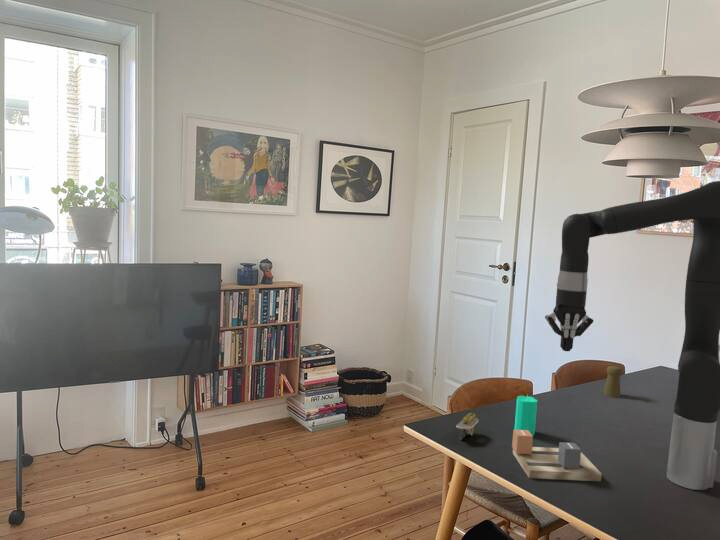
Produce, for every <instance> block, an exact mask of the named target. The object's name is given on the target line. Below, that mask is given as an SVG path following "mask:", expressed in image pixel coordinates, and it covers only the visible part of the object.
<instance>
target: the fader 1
mask: <svg viewBox="0 0 720 540" xmlns="http://www.w3.org/2000/svg"><path fill="white" fill-rule="evenodd" d="M533 439H534V435H533V436H532V434H531V433H530V432H529V431H528V430H514V429H513V430H512V443H511V448H512V450H513V449H514V451H515V452H516V454H532V447H533Z"/></svg>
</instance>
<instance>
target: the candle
mask: <svg viewBox="0 0 720 540" xmlns="http://www.w3.org/2000/svg"><path fill="white" fill-rule="evenodd" d="M526 394H527V395H526V396H525V395H518V396H517V397H516V404H515V406H516V407H515V415H514V417H515V418H514V419H515V420H514V429H513V430H528V431H529V432H530V433H531V434H532V436H533V437H534V435H535V434H536V425H537V424H536V423H537V412H538V400H537V399H536V398H534V397H532V396H529V393H526Z"/></svg>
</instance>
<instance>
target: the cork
mask: <svg viewBox="0 0 720 540" xmlns="http://www.w3.org/2000/svg"><path fill="white" fill-rule="evenodd" d="M622 372H623V370H622V368H621V367H619V366H617V365H609V366H608V367H607V368H606V373H607V377H606V382H605V384H604V387H603V388H604V389H603V395H604V396H605V397H609V398H621V376H622Z"/></svg>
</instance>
